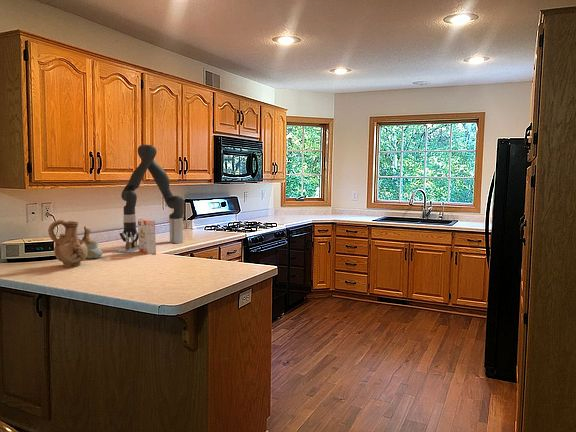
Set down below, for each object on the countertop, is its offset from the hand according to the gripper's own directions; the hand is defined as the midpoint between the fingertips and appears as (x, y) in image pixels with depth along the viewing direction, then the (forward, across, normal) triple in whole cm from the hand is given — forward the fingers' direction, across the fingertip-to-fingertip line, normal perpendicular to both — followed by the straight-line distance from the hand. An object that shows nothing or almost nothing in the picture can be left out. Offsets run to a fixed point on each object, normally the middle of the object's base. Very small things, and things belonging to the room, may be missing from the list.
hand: (130, 248), depth 303 cm
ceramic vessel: (+1, +11, +52) cm, 53 cm away
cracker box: (+1, -15, +12) cm, 19 cm away
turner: (0, 0, +2) cm, 2 cm away
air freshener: (+1, +11, +30) cm, 32 cm away
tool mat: (+1, 0, +2) cm, 2 cm away
